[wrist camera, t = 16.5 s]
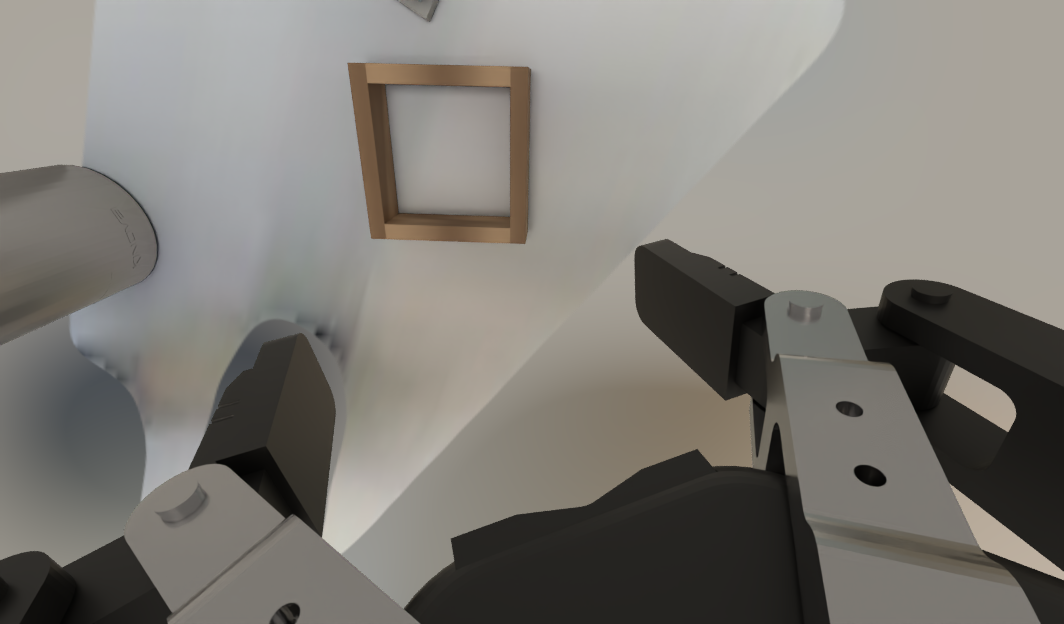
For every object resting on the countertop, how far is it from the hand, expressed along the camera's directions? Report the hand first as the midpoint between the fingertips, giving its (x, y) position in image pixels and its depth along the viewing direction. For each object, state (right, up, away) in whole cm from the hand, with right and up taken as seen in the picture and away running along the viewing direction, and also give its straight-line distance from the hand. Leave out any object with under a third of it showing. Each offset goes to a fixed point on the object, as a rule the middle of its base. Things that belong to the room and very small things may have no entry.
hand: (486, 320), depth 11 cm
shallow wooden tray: (-4, +11, +19) cm, 23 cm away
